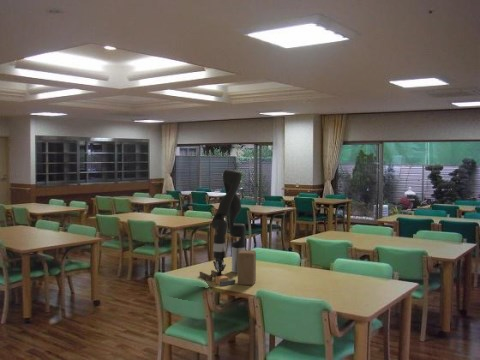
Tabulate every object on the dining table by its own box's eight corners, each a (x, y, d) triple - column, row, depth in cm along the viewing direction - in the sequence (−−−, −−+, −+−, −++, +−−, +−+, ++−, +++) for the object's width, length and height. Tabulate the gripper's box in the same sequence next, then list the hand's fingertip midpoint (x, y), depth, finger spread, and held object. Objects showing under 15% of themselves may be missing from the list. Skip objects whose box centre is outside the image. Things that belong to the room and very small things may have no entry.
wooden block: (253, 285, 292) (253, 253, 291) (237, 284, 294) (237, 252, 293) (256, 281, 301) (256, 250, 301) (240, 281, 303) (240, 249, 303)
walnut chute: (212, 274, 321) (212, 269, 321) (224, 279, 307) (224, 274, 307) (199, 276, 316) (199, 271, 316) (210, 281, 302) (210, 276, 302)
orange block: (223, 281, 303) (223, 275, 303) (228, 283, 298) (228, 277, 297) (215, 282, 300) (215, 276, 300) (220, 284, 295) (220, 278, 294)
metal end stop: (234, 283, 297) (234, 279, 297) (235, 284, 296) (235, 280, 296) (220, 285, 292) (220, 281, 292) (221, 286, 291) (221, 282, 290)
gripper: (229, 251, 298) (229, 278, 299) (219, 248, 310) (219, 274, 310) (219, 252, 294) (219, 280, 295) (209, 249, 306) (209, 275, 306)
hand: (219, 277), depth 303 cm, fingers closed
